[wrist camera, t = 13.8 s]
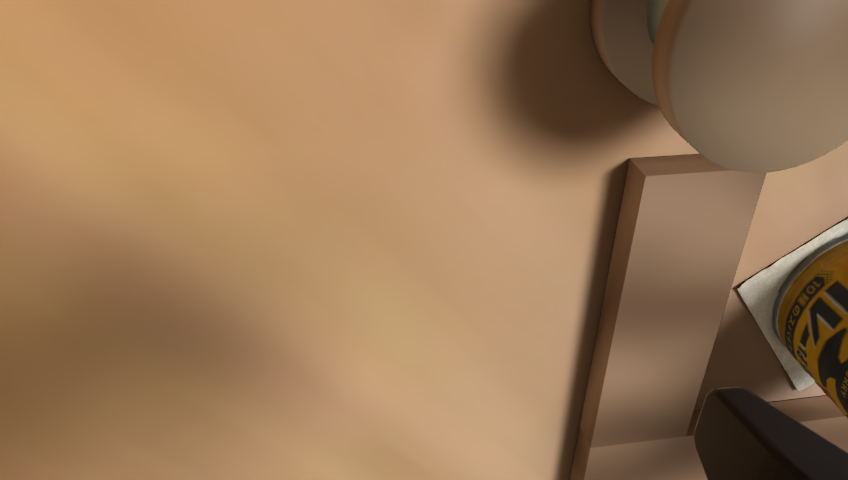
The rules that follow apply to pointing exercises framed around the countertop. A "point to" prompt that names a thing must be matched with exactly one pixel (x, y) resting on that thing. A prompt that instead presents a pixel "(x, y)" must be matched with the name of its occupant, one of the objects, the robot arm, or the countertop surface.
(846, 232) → the condiment
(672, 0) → the spool
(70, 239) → the countertop surface
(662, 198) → the brown frame
